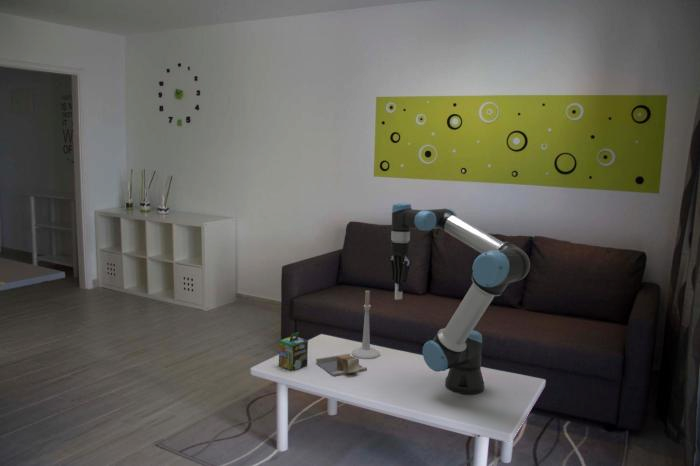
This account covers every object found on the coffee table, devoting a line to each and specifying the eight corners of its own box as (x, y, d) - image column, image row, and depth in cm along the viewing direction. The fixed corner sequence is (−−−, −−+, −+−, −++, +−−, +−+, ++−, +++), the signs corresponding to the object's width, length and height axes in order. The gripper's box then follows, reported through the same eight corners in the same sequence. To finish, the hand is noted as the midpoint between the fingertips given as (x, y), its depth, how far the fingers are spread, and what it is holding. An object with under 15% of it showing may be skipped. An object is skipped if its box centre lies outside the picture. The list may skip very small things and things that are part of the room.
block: (358, 358, 237) (347, 354, 246) (348, 360, 235) (336, 356, 244) (359, 370, 237) (347, 366, 246) (348, 372, 235) (337, 368, 244)
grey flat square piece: (366, 370, 243) (366, 364, 243) (333, 376, 235) (333, 370, 235) (348, 358, 257) (348, 353, 256) (316, 363, 249) (316, 358, 249)
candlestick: (356, 348, 271) (357, 286, 267) (382, 351, 268) (384, 288, 264) (348, 357, 259) (350, 291, 255) (376, 360, 255) (378, 294, 252)
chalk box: (293, 360, 252) (293, 328, 251) (308, 365, 247) (308, 332, 245) (277, 366, 245) (278, 332, 244) (292, 371, 240) (293, 337, 238)
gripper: (417, 243, 227) (415, 301, 230) (399, 239, 238) (397, 294, 241) (401, 244, 224) (399, 303, 226) (383, 239, 235) (382, 296, 238)
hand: (398, 298), depth 234 cm, fingers closed
